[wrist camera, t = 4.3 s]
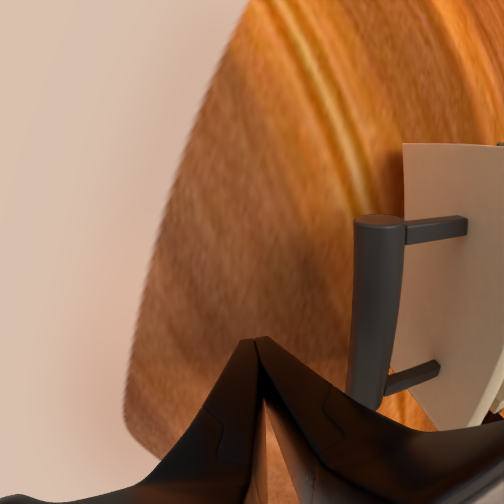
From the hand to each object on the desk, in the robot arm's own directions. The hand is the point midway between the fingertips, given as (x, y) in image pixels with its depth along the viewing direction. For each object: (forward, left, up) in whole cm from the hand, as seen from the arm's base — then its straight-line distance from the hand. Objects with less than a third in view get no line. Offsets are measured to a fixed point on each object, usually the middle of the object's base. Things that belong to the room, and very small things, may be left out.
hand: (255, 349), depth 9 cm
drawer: (0, -12, -4) cm, 12 cm away
